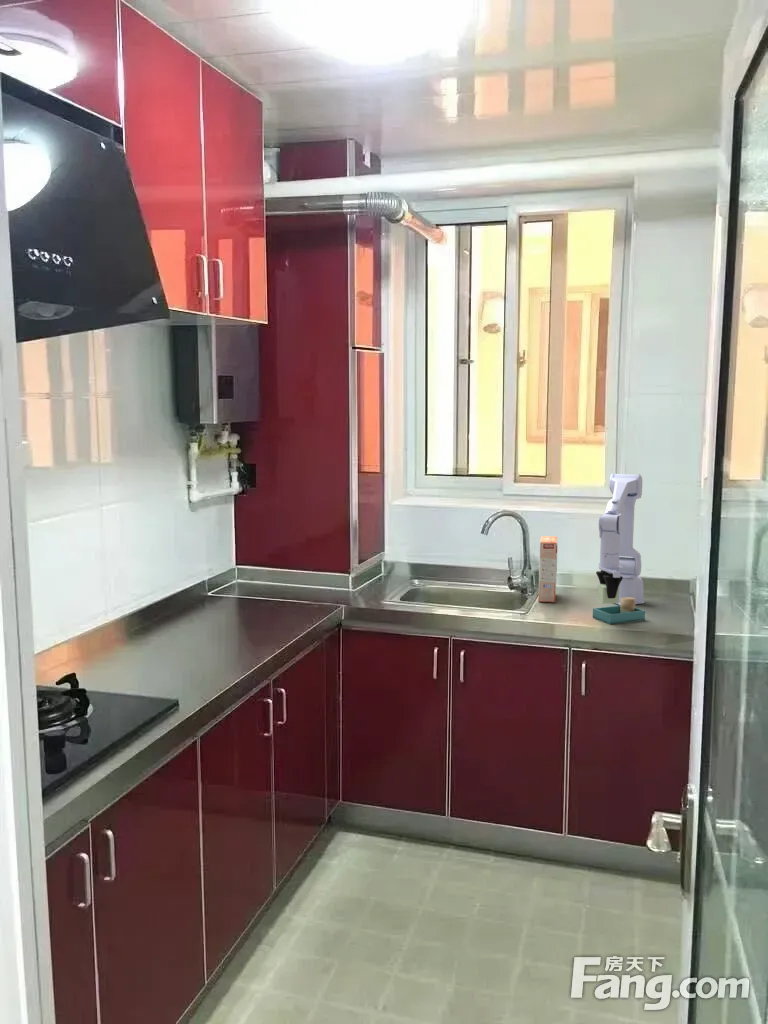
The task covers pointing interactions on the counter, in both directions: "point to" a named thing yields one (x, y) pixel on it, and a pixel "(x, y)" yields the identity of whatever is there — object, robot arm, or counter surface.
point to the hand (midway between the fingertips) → (608, 596)
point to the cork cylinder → (627, 604)
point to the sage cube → (603, 595)
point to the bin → (617, 615)
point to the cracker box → (547, 569)
